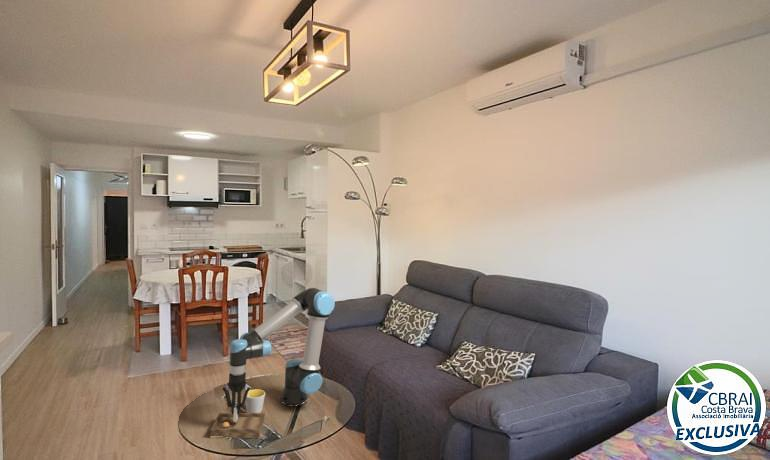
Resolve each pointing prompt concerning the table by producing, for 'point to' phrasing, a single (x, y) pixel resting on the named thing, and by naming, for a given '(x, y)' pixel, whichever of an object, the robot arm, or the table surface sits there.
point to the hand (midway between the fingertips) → (235, 420)
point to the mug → (255, 401)
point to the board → (238, 425)
